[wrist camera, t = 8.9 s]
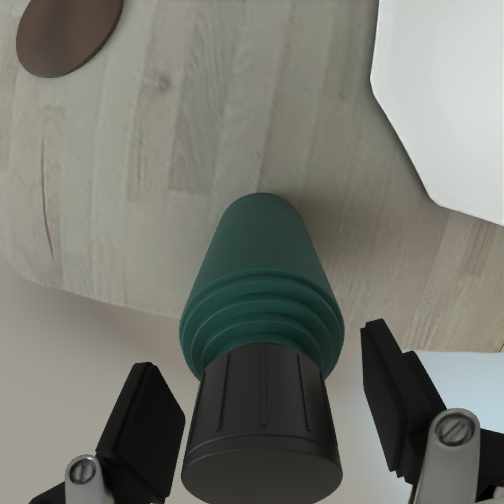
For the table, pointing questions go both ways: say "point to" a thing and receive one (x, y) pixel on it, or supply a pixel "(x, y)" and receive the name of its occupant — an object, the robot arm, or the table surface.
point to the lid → (64, 34)
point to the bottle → (261, 289)
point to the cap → (262, 430)
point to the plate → (446, 96)
